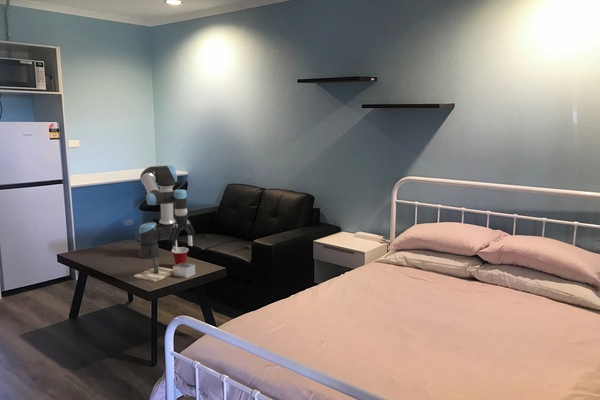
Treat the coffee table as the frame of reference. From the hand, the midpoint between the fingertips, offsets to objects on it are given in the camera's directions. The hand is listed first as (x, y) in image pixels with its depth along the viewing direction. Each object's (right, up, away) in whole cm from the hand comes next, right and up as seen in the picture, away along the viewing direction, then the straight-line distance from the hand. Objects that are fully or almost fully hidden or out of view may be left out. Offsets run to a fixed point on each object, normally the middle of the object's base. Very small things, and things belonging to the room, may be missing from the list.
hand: (183, 248), depth 295 cm
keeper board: (-18, -17, +4) cm, 25 cm away
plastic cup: (-6, -14, +19) cm, 25 cm away
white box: (0, -17, +3) cm, 17 cm away
